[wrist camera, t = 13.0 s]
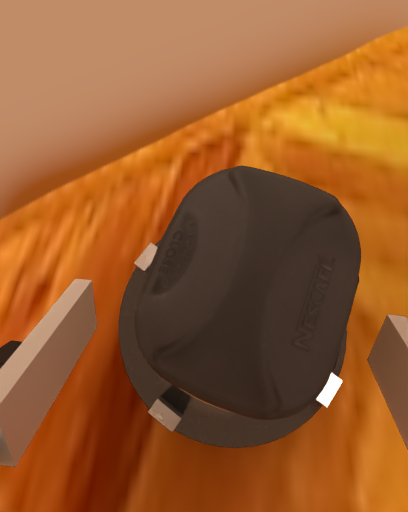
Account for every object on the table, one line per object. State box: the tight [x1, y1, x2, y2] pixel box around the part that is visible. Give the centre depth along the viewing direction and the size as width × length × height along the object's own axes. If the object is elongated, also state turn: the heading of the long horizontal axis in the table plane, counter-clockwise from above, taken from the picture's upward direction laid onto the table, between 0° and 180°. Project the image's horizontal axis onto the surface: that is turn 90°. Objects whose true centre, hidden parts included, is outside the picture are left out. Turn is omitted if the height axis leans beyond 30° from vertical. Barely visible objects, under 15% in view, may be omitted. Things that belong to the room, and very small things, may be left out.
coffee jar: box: [135, 166, 361, 420], centre depth 19 cm, size 10×8×19 cm
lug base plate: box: [119, 240, 347, 448], centre depth 28 cm, size 20×20×3 cm
